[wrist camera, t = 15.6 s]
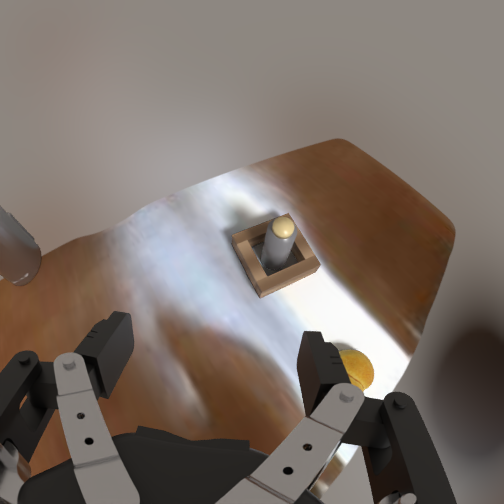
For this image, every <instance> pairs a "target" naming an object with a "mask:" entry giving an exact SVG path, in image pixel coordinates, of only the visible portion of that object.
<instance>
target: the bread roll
mask: <svg viewBox="0 0 504 504" xmlns="http://www.w3.org/2000/svg"><path fill="white" fill-rule="evenodd" d="M339 354H340V356H341V358H342V361H343V364H344V366H345V368H346V371H347V373H348V376H349V378H350V381H351V384H353V385H355V386H357V387H359V388H360V389H361V390H362V391H364V390H365V389H366V388H368V387H369V386H370V385H371V384H372V382H373V379H374V369H373V366H372V364H371V362H370V360H369V359H368V358H367V356H365V355H364V354H363V353H361V352H360V351H357V350H342V351H339Z"/></svg>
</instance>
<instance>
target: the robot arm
mask: <svg viewBox="0 0 504 504" xmlns="http://www.w3.org/2000/svg"><path fill="white" fill-rule="evenodd" d="M40 263H41V251H40V248H39V246H38V245H37V244H36V243H35V242H34V238H33V237H32V236H31V235H30V234H29V233H28V232H27V231H26V230H25V228H24V227H23V226H22V225H21V224H20V223H19V222H18V221H17V220H16V219H15V218H14V217H13V216H12V215H11V213H6V211H5V210H4V209H3V208H2V207H1V206H0V275H1V276H3V277H4V278H6V279H7V280H8V281H10V282H11V283H13V284H14V285H17V286H22V285H25V284H27V283H28V282H30V281H31V280H32V279H33V278H34V276H35V275H36V273H37V271H38V269H39V267H40ZM133 349H134V336H133V329H132V320H131V315H130V314H129V313H125V312H118V311H114V312H113V313H112V314H111V315H110V317H109V318H108V319H107V320H105V319H103V320H102V321H100V322H98V323H97V324H95V325H94V327H93V328H92V329H91V332H89V333H88V334H87V337H85V338H84V339H83V341H82V342H81V343H80V344H79V346H78V347H77V348H76V350H75V351H74V352H73V353H64V354H62V355H60V356H58V357H57V358H56V359H55V361H54V362H40V361H39V358H38V356H37V354H36V353H35V352H33V351H22V352H19V353H17V354H16V355H15V356H14V357H13V358H12V359H11V360H10V362H9V363H8V364H7V365H6V366H5V368H4V369H3V370H2V371H1V373H0V504H324V503H323V502H322V501H321V500H320V499H318V498H317V497H316V496H315V495H314V494H313V493H311V492H310V489H311V488H312V487H313V485H314V484H315V482H316V481H317V480H318V478H319V477H320V475H321V474H322V472H323V471H324V469H325V468H326V466H327V465H328V464H329V462H330V461H331V459H332V458H333V456H334V455H335V453H336V452H337V450H338V448H339V447H340V445H341V444H342V443H346V444H352V445H359V446H361V447H362V451H363V455H364V460H365V464H366V468H367V473H368V477H369V482H370V486H371V491H372V496H373V501H374V504H457V503H456V500H455V497H454V494H453V492H452V489H451V487H450V484H449V481H448V478H447V476H446V473H445V471H444V468H443V466H442V463H441V461H440V458H439V456H438V454H437V451H436V449H435V447H434V444H433V442H432V440H431V437H430V435H429V433H428V431H427V428H426V426H425V424H424V422H423V420H422V417H421V415H420V413H419V411H418V409H417V407H416V405H415V403H414V401H413V399H412V398H411V397H410V396H408V395H407V394H405V393H401V392H391V393H389V394H387V395H386V396H385V398H384V400H380V399H373V398H368V397H365V396H364V393H363V391H362V390H361V389H360V388H359V387H357V386H355V385H353V384H351V381H350V378H349V376H348V373H347V371H346V368H345V366H344V364H343V361H342V358H341V356H340V354H339V351H338V349H337V348H336V347H335V346H334V345H333V344H332V343H331V342H324V339H323V336H322V334H321V332H316V331H304V333H303V336H302V340H301V345H300V349H299V354H298V358H297V372H298V377H299V382H300V387H301V393H302V398H303V403H304V408H305V414H306V416H305V417H304V418H303V419H302V420H301V422H300V423H299V424H298V425H297V426H296V427H295V429H294V430H293V431H292V432H291V433H290V434H289V435H288V437H287V438H286V439H285V440H284V441H283V442H282V443H281V444H280V445H279V446H278V448H277V449H276V450H275V451H274V452H273V453H272V454H271V455H270V456H269V455H267V454H265V453H263V452H261V451H258V450H255V449H252V448H249V440H234V439H211V440H198V441H191V440H187V439H185V438H182V437H179V436H176V435H174V434H171V433H169V432H166V431H163V430H158V429H153V428H148V427H143V426H138V428H137V431H136V433H124V434H120V435H116V436H113V437H111V436H110V434H109V431H108V429H107V426H106V424H105V421H104V419H103V416H102V414H101V411H100V408H99V406H98V403H97V400H98V398H99V397H103V398H107V399H109V397H110V395H111V393H112V391H113V389H114V387H115V385H116V383H117V381H118V379H119V377H120V375H121V373H122V371H123V369H124V367H125V365H126V364H127V362H128V360H129V358H130V356H131V354H132V352H133ZM25 395H26V396H27V399H26V400H25V402H24V404H23V405H22V407H21V408H20V409H19V407H20V403H21V401H22V400H23V398H24V397H25ZM55 409H59V412H60V417H61V421H62V425H63V429H64V433H65V437H66V441H67V444H68V448H69V451H70V454H71V457H72V458H71V459H69V460H67V461H65V462H63V463H61V464H59V465H57V466H55V467H52V468H50V469H48V470H46V471H44V472H42V473H40V474H37V475H35V476H33V477H31V478H30V476H31V468H30V465H29V462H30V459H31V457H32V455H33V453H34V451H35V449H36V447H37V444H38V442H39V440H40V438H41V436H42V434H43V432H44V430H45V428H46V426H47V424H48V422H49V420H50V418H51V417H52V415H53V413H54V411H55Z"/></svg>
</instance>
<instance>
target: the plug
mask: <svg viewBox="0 0 504 504" xmlns="http://www.w3.org/2000/svg"><path fill="white" fill-rule="evenodd" d="M296 236H297V227H296V225H295V224H294V222H293V221H292V220H290V219H289V218H287V217H277V218H274V219H273V220H271V221H270V223H269V224H268V227H267V232H266V236H265V241H264V245H263V250H262V254H261V262H262V264H263V265H264V267H266V268H267V269H269V270H279V269H281V268H282V267H283V266H284V265H285V263H286V260H287V258H288V255H289V253H290V251H291V248H292V246H293V243H294V241H295V238H296Z"/></svg>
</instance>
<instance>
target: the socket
mask: <svg viewBox="0 0 504 504" xmlns="http://www.w3.org/2000/svg"><path fill="white" fill-rule="evenodd" d="M280 217H287V218H289V219H290V220H292V221H293V219H292V218H291V216H290V215H289V213H288V214H285V215H282V216H280ZM272 220H273V219H272ZM270 221H271V220H269V221H267V222H264V223H261V224H259V225H256V226H254V227H251V228H248V229H246V230H243V231H241V232H238V233H236V234H233V235H232V246H233V248H234V250H235V252H236V253H237V255H238V257H239V259H240V261H241V263H242V265H243V267H244V269H245V271H246V273H247V275H248V277H249V279H250V280H251V282H252V284H253V286H254V288H255V290H256V292H257V294H258V296H259V298H262V297H264V296H266V295H268V294H271V293H273V292H275V291H277V290H279V289H281V288H284V287H286V286H288V285H290V284H292V283H294V282H296V281H298V280H300V279H303V278H305V277H307V276H309V275H311V274H313V273H315V272H316V271H317V269H318V268H319V266H320V265H321V264H320V262H319V261H318V259H317V258H316V256H315V254H314V253H313V251H312V249H311V248H310V246H309V245H308V243H307V241H306V240H305V238H304V237H303V235H302V233H301V232H300V230H299V229H298V227H297V226H296V227H297V236H296V238H295V241H294V243H293V246H292V248H291V251H292V253H293V255H294V256H295V258H296V260H297V261H298V263H296V264H294V265H292V266H290V267H287V268H285V269H283V270H281V271H279V272H276V273H274V274H272V275H270V276H267V275H266V273H265V272H264V270H263V268H262V266H261V264H260V262H259V261H258V259H257V257H256V255H255V253H254V251H253V250H252V248H251V247H253V246H255V245H258V244H260V243H262V242H264V241H265V236H266V232H267V227H268V224H269V223H270ZM293 222H294V221H293ZM294 224H295V222H294ZM295 225H296V224H295Z"/></svg>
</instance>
